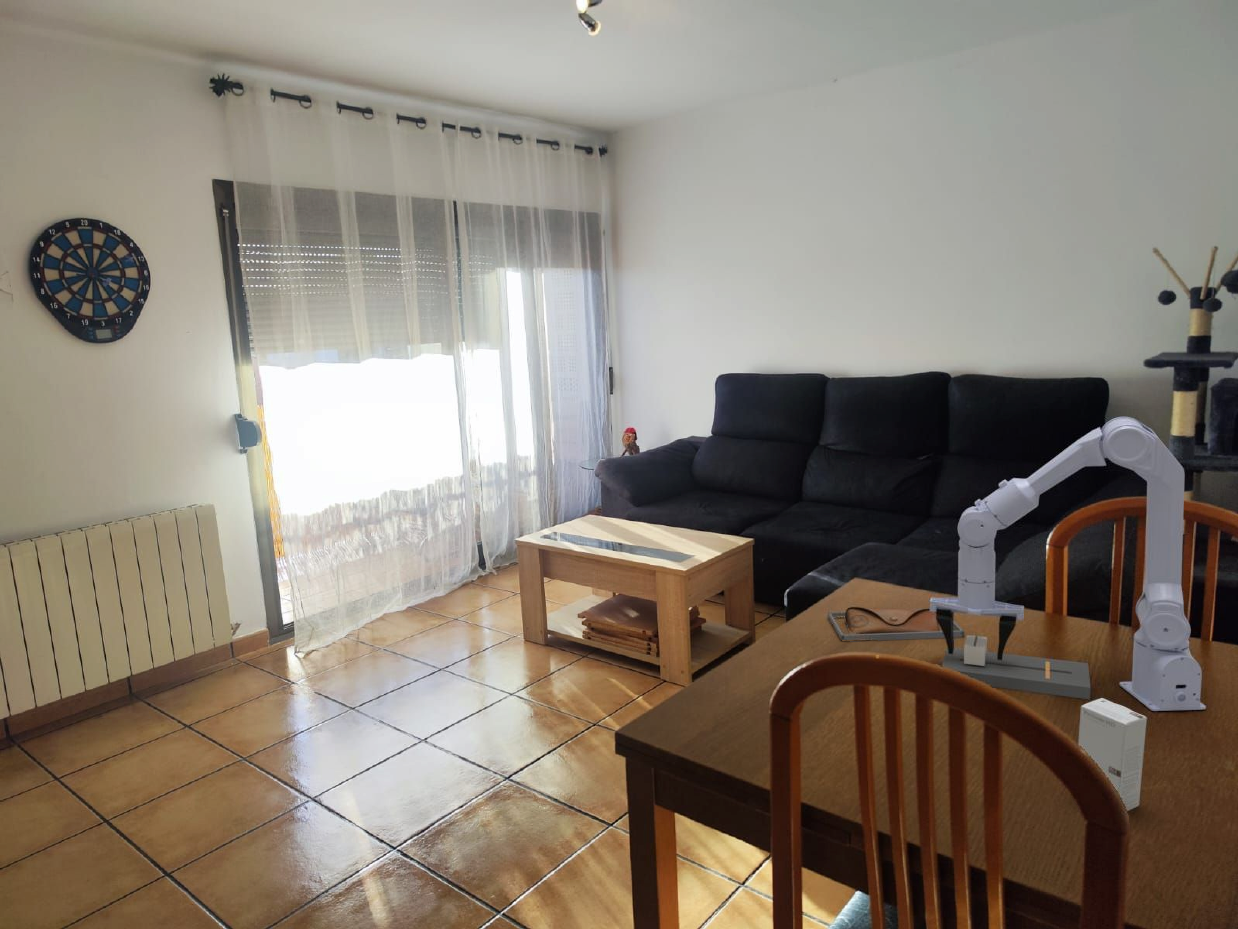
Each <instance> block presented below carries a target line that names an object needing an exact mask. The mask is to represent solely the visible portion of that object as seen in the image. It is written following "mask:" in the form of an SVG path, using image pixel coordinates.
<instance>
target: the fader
mask: <svg viewBox="0 0 1238 929" xmlns="http://www.w3.org/2000/svg"><path fill="white" fill-rule="evenodd" d="M987 639H988V637H987V636H978V635H969V634H966V636H965V641H964V645H963V649H964V664H972V665H980V666H985V661H986V655H987V652H988V651H987V648H988V646H987V645H988V643H987V642H988V640H987Z"/></svg>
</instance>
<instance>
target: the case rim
mask: <svg viewBox="0 0 1238 929" xmlns="http://www.w3.org/2000/svg"><path fill="white" fill-rule="evenodd" d="M845 613H846V611H835V612H833V611H832V612H831V611H830V612H827V619H828V618H829V619H830V620H829V619H828V620H829V622H830V621H831V622H830V624H831V623H832V624H833V626H834V628H835V629H834V628H833V629H834V631H835V630H836V631H837V633H838V635H839V636H838V635H837V636H838V638H839V637H840V638H841V640H857V639H858V640H859V639H866V640H867V639H868V640H871V639H872V640H878V641H894V640H895V641H899V640H900V641H902V640H903V641H904V640H928V639H945V636H944V634H943V631H942V630H940V631H932V632H905V633H878V634H851V635H850V634H844V633H843V632H842V630H841V628H840V626H839V624H838V622H837V621H836V619H834V618H833V617H837V616H845ZM832 624H831V625H832ZM833 626H832V627H833ZM836 631H835V632H836ZM837 633H836V634H837ZM953 636H954V639H956V638H959V639H960V638H965V630H964V629H963V628H962V627H961V626H960V625H959V624H958V623H957V622H956V621H955V620H953ZM840 638H839V639H840ZM841 640H840V641H841Z"/></svg>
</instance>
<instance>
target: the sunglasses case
mask: <svg viewBox="0 0 1238 929" xmlns="http://www.w3.org/2000/svg"><path fill="white" fill-rule="evenodd" d="M845 612H846V613H845V618H844V619H845V620H846V622H847V625H848V628H849V630H850V631H851V632H852V633H856V634H858V633H859V634H878V633H905V632H932V631H941V630H940V625H939V624H938V622H937V619H936V615H937V612H931V611H930V607H929V608H888V607H887V608H883V607H882V608H880V607H878V608H876V607H875V608H874V607H872V608H870V607H867V608H866V607H861V606H850V607H848V608H847V609H846V610H845ZM845 620H844V621H845ZM847 625H846V626H847ZM848 628H847V629H848Z"/></svg>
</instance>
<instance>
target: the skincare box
mask: <svg viewBox="0 0 1238 929" xmlns="http://www.w3.org/2000/svg"><path fill="white" fill-rule="evenodd" d="M1079 715H1080V718H1079V727H1078V728H1079V730H1078V744H1077V745H1079V746H1081V747H1082V748H1083V749H1085V751H1086V752H1087V753H1088V755H1089V756H1091V758H1092V759H1093V760H1094V761H1095V763H1097V764H1098V766H1099V767H1100V768H1101V769H1102V771H1103V772H1104V773H1105V775H1106V777H1108V778H1109V780H1110V781H1111V783H1112V784H1113V786H1114V787H1115V789H1116V790H1117V791H1118V793H1119V795H1120V797H1121V798H1122V801H1123V803H1124V804H1125V806H1126V809H1127V811H1126V812H1129V811H1131V810H1133V809H1135V808H1137V807H1139V805H1140V797H1141V784H1142V774H1143V765H1144V752H1145V741H1146V731H1147V721H1148V717H1147V716H1145V715H1143V714H1141V713H1138V712H1135V711H1133V710H1132V709H1130V708H1128V707H1126V706H1123V705H1121V704H1118V703H1114V702H1113V701H1111V700H1108V699H1106V698H1103V697H1101V698H1098V699H1094V700H1092V701H1089V702H1087V703H1085V704H1083V705H1081V706H1080V714H1079Z"/></svg>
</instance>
